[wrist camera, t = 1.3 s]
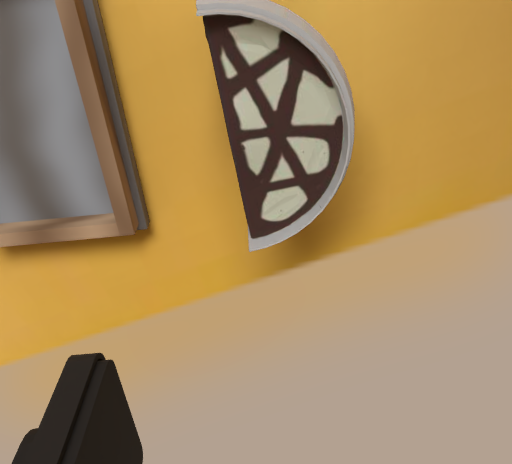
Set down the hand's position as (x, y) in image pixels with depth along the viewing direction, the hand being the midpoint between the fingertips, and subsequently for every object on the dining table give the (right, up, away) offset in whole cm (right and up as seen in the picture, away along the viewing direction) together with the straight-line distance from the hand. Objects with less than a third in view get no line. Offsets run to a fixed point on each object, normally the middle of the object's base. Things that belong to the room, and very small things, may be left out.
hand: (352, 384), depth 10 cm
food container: (0, +12, +21) cm, 24 cm away
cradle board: (-16, +11, +21) cm, 29 cm away
